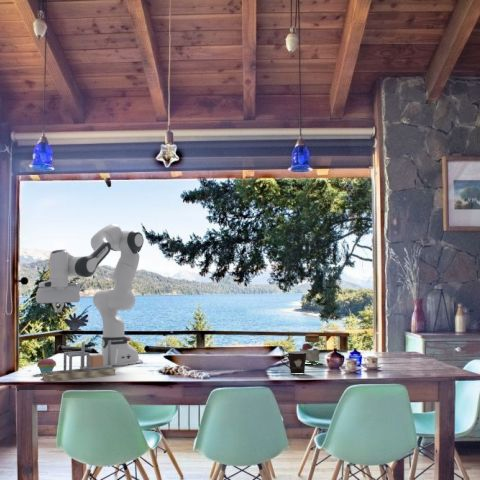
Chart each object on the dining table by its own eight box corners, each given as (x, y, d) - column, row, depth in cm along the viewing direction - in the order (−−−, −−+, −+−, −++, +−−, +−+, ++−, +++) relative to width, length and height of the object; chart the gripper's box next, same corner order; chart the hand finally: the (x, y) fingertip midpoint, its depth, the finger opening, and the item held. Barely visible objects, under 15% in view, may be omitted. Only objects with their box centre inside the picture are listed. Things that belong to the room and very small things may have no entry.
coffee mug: (309, 372, 285) (308, 351, 285) (303, 375, 277) (302, 353, 277) (286, 371, 289) (285, 350, 290) (279, 374, 282) (279, 352, 282)
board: (107, 371, 290) (107, 365, 290) (115, 374, 281) (115, 368, 281) (42, 378, 273) (42, 371, 273) (48, 381, 264) (48, 374, 265)
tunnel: (82, 369, 283) (82, 350, 283) (89, 371, 275) (89, 353, 275) (63, 370, 278) (63, 352, 278) (69, 373, 270) (69, 354, 270)
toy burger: (302, 361, 321) (302, 333, 322) (325, 362, 316) (325, 334, 317) (296, 364, 310) (296, 335, 311) (320, 366, 305) (320, 336, 306)
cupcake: (38, 375, 280) (39, 349, 281) (35, 373, 287) (36, 347, 288) (57, 374, 284) (57, 348, 284) (54, 371, 291) (54, 346, 292)
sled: (108, 365, 287) (109, 340, 288) (112, 367, 283) (112, 341, 284) (79, 368, 280) (79, 342, 280) (83, 369, 276) (83, 343, 276)
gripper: (77, 283, 295) (77, 311, 294) (35, 283, 284) (34, 312, 283) (82, 283, 290) (81, 311, 289) (38, 283, 279) (38, 313, 278)
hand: (58, 312), depth 286 cm, fingers closed
